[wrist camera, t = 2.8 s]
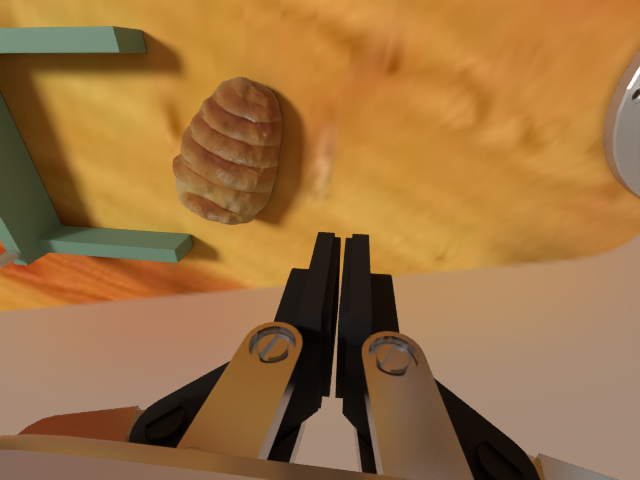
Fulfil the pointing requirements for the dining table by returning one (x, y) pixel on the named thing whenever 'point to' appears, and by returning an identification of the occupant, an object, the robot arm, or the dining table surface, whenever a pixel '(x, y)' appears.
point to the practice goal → (25, 183)
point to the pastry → (230, 153)
